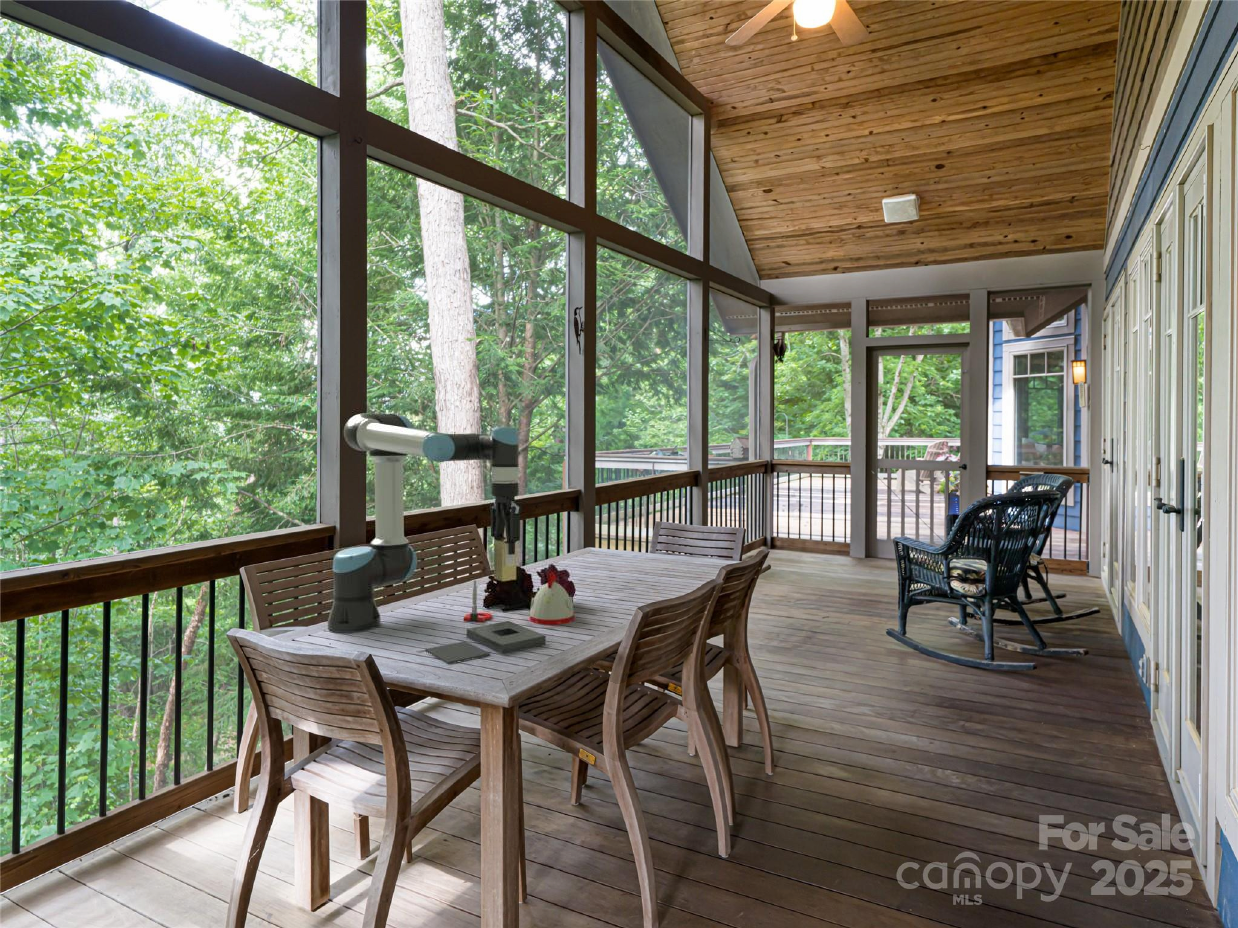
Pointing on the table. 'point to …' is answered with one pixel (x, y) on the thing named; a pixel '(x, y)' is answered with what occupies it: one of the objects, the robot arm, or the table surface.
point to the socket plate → (506, 637)
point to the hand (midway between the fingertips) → (505, 564)
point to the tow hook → (474, 614)
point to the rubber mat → (457, 652)
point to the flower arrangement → (523, 588)
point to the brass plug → (502, 562)
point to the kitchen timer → (551, 604)
